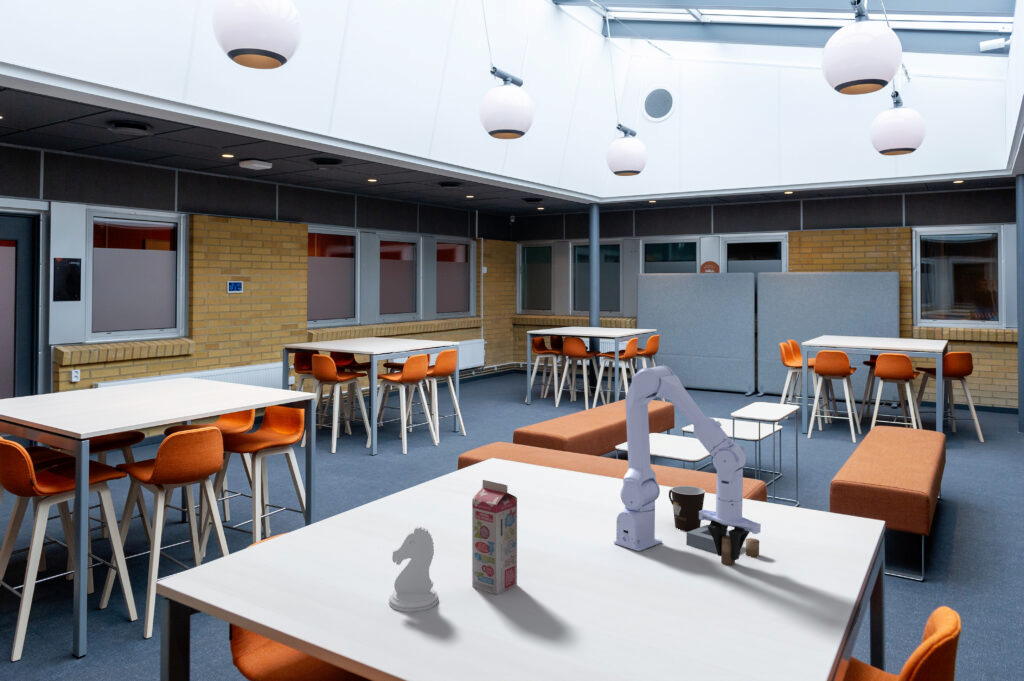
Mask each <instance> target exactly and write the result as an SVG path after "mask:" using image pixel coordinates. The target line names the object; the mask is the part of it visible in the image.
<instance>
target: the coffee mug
mask: <svg viewBox="0 0 1024 681" xmlns="http://www.w3.org/2000/svg"><path fill="white" fill-rule="evenodd" d="M705 493H706V490H705V489H703V488H702V487H697V486H693V485H692V486H691V485H677V486H673V487H672V488H670V489H669V490H668V500H669V501H670V503H671V505H672V509H673V519H674V527H675V529H677V528H678V529H677V530H679V529H680V531H682V530H685V531H684V532H689V531H692V530H695V529H697V528H700V527H701V524H702V520H700V519H699V511H701V510H704V508H703V507H704V501H705V495H706V494H705Z"/></svg>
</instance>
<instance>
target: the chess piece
mask: <svg viewBox="0 0 1024 681" xmlns="http://www.w3.org/2000/svg"><path fill="white" fill-rule="evenodd" d="M434 544H435V543H434V540H433V538H432V534H431V533H430V531H429V530H428V528H426V527H422V526H415V527H414V530H413V531H411V532H409V533H408V534H407V535H406V537H405V539H404V540H403V542H402V543H401V545H400V546H399V547H398V548H397V549H394V550H393V551H392V562H393V563H394V564H395V563H396V565H397V566H400V565H401V564H402V562H403V561H404V560H407V559H409V561H408V562H407V563H406V565H405V566H404V567H403V568H402V570H401V571H400V572H399V573H398V575H397V576H396V578H395V580H394V583H393V584H394V590H393V591H392V592H391V594H390V595H389V597H388V605H389V607H390V608H391V609H394V610H396V611H399V612H404V613H405V612H406V613H415V612H422V611H427V610H428V609H432V608H434V607H435V606H437V604H438V602H439V596H438V593H437V591H436V590H435V589H434V588H433V587H434V581H432V579H431V577H430V566H431V565H432V562H433V557H434V555H435V549H434V548H435V547H434Z"/></svg>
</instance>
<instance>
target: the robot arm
mask: <svg viewBox="0 0 1024 681" xmlns="http://www.w3.org/2000/svg"><path fill="white" fill-rule="evenodd" d="M626 392H627V393H626V395H625V420H626V422H625V424H626V440H627V460H628V462H627V463H628V464H627V465H628V469H627V471H626V472H625V474H624V476H623V478H622V479H623V480H622V482H623V485H622V488H621V490H620V500H621V502H622V504H623V505H624V510H623V511H621V512H619V514H618V515H617V517H616V531H615V532H616V537H615V538H616V540H614V541H613V544H615V545H618V546H622V547H625V548H629V549H631V550H634V551H637V552H641V551H643V550H646V549H648V548H651V547H654V546H656V545H659V544H661V543H662V542H663V540H661V539H658V538H655V536H656V535H655V534H656V527H655V526H656V525H655V524H656V500H657V499H658V498H659V497H660V492H661V490H660V485H659V483H658V481H657V478H656V472H655V471H654V470H653V468H652V467H651V466H652V465H651V448H650V447H651V444H650V443H651V442H650V425H649V423H650V422H649V404H650V403H651V402H652V401H654V399H655V398H656V397H657V398H658V399H659V398H660V399H665V400H669V401H671V402H672V404H673V405H675V406H676V407H677V409H678V410H679V411H680V412H681V413H682V414H683V415H684V416H685V418H686V419H687V420H688V421H689V422H690V424H692V425H693V435H694V436H695V437H696V438H697V440H698V441H699V442H700V443H701V445H702V446H703V447H704V449H705V450H706V451H707V453H709V455H710V456H712V457H713V458H712V465H713V466H714V469H715V471H716V489H715V490H716V492H715V493H716V497H715V500H716V501H715V511H714V510H707V509H703V510H701V511H699V519H700V520H701V521H704V520H705V521H708V522H710V524H707V525H708V530H709V531H710V533H711V535H712V537H713V540H714V543H715V546H716V550H717V553H716V554H717V556H719V557H721V546H722V536H723V535H726V534H727V530H728V531H729V535H730V540H731V559H732V560H735V561H737V560H739V558H740V554H741V552H742V549H743V545H744V544H745V543H744V542H746V539H747V538H748V535H749V534H750V533H752V534H754V535H757V534H760V533H761V523H758V522H756V521H753V520H750V519H747V518H745V517H743V498H744V497H743V491H744V486H743V485H744V468H743V467H744V466H745V464H746V463H747V459H748V455H747V453H746V451H745V449H744V447H743V446H742V445H740V444H738V443H735V442H736V441H735V440H734V439H733V438H732V439H731V438H730V436H728V434H727V433H726V432H725V431H724V430H723V428H722V427H721V426H722V423H721V422H720V421H719V420H717V421H716V420H715V419H714V418H712V417H707V416H706V415H705V414H704V413H703V412H702V410H701V409H700V408H699V406H698V405H697V403H696V401H694V400H693V398H692V396H691V395H690V394H689V392H688V391H687V390H686V388H685V387H684V385H683V384H682V382H681V380H680V378H679V377H678V376H677V374H675V373H674V371H673V370H672V369H671V368H670V367H669V366H667V365H663V364H662V365H657V366H655V367H653V366H652V367H643V368H641V369H639V370H638V371H637V372H636V373H635V374H634V375H633V376H631V383H630V385H629V387H628V390H627V391H626ZM728 527H731V529H730V530H729V529H728Z"/></svg>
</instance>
